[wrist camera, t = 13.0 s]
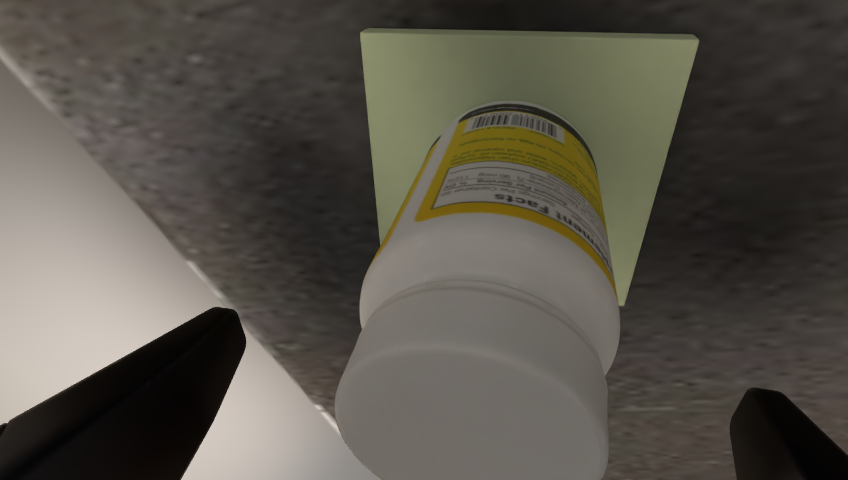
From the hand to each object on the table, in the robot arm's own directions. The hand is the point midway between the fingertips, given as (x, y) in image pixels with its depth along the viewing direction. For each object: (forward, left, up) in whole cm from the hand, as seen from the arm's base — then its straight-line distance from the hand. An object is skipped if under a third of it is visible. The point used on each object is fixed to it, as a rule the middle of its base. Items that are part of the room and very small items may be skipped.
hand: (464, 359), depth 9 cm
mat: (0, 0, -7) cm, 7 cm away
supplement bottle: (0, 0, -7) cm, 7 cm away
